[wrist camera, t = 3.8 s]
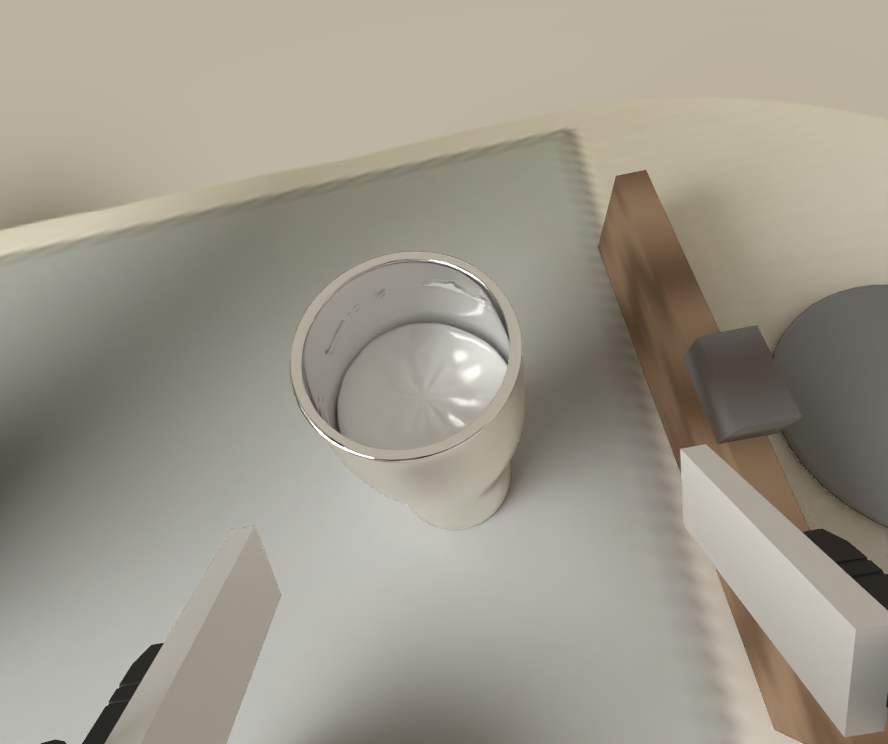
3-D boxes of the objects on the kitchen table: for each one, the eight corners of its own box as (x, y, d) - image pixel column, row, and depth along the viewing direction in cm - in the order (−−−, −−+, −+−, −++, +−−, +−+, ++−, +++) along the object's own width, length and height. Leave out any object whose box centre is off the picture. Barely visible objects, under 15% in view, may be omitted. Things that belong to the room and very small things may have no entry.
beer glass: (456, 569, 26) (398, 530, 12) (365, 475, 28) (233, 356, 15) (546, 468, 27) (584, 334, 14) (452, 388, 30) (406, 207, 16)
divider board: (822, 722, 21) (983, 782, 14) (765, 731, 21) (896, 796, 14) (629, 240, 32) (663, 137, 25) (591, 248, 33) (615, 147, 25)
